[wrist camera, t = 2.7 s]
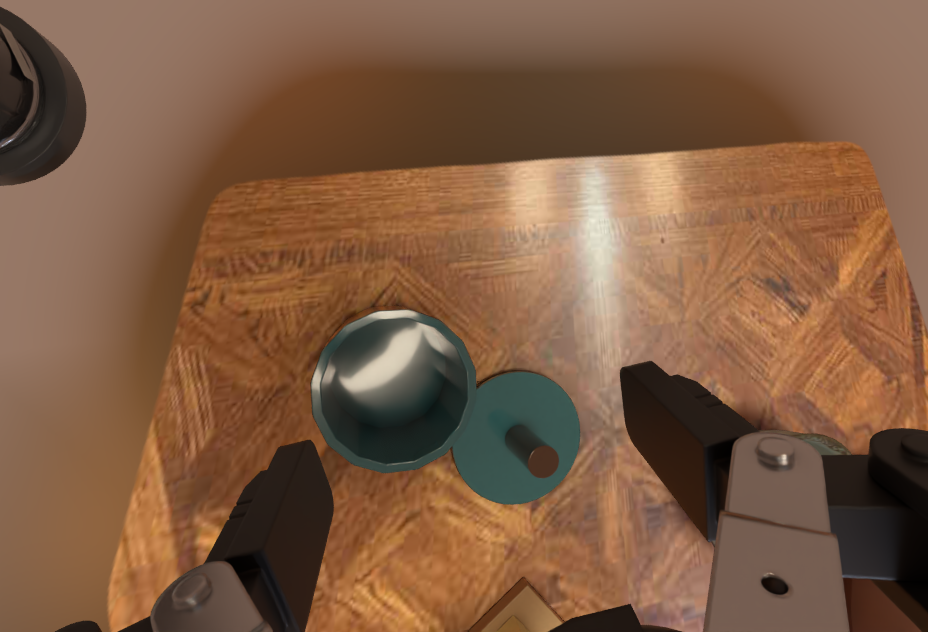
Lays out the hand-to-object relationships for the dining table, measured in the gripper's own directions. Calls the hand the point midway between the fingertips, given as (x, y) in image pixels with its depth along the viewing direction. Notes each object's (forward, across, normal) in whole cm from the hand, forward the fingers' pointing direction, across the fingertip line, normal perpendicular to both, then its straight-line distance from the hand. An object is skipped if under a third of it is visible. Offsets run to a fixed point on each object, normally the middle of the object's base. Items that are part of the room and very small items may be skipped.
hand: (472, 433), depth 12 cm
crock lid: (+23, -3, +16) cm, 29 cm away
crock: (+24, +6, +8) cm, 26 cm away
